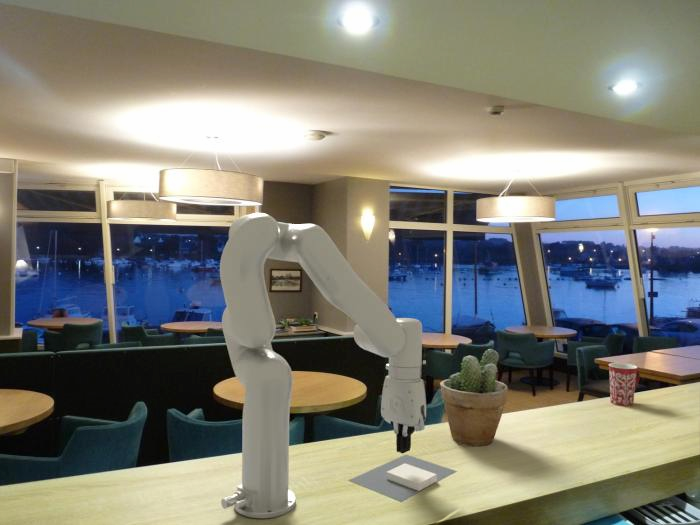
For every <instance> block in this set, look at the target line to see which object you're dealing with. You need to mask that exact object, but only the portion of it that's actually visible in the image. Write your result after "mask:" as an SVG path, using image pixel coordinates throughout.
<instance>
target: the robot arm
mask: <svg viewBox="0 0 700 525" xmlns="http://www.w3.org/2000/svg"><path fill="white" fill-rule="evenodd" d="M267 259H270V260H277V261H284V262H291V263H292V262H293V263H298V264H299V265H300V266H301V268H302V269H303V271H305V273H306V274H307V276H308V277H309V278H310V280H311V281H312V282H313V285H315V287H316V288H317V290H319V292H320V294H321V295H322V296H323V298H324V299H325V300H326V301H327V302H329V303H330V304H331V305H332V306H334V307H335V308H336V309H338V310H340V312H342V313H344V314H345V315H347V316H348V317H349V318H350V319H351V320H352V321H353V322H355V323H356V324H355V326H354V328H353V329H354V330H353V338H354V342H355V343H356V345H358V347H359V348H361V349H363V350H364V351H368V352H370V353H372V354H375V355H378V356H380V357H382V358H388V363H386V365H385V369H386V370H388V374H387V375H386V376H385V378H384V381H383V387H382V393H381V402H380V403H381V404H380V413H381V414H380V415H381V418H383V419H384V421H385V422H387V423H388V424H390V425H391V426H392V428H393V432H394V434H395V436H396V442H395V443H396V444H395V445H396V453H400V454H405V453H408V452H409V451H410V450H411V447H412V435H413V434H414V432H422V431H423V430H425V423H424V422H426V419H427V398H426V397H427V396H426V388H425V382H424V379H422V366H423V365H422V364H423V363H422V362H423V361H422V358H423V356H422V355H423V352H422V351H423V347H422V346H423V325H422V322H421V321H420V320H419V319H417V318H409V317H397V318H396V317H395V315H394V314H393V312H392V311H391V309H390V308H389V307H388V306H387V305H386V303H385V302H384V301H383V300H382V299H381V297H379V295H377V294H376V293H375V292H374V291H373V290H372V289H371V288H370V287H369V286H368V284H366V283H365V281H363V280H362V279H361V278H360V277H359V276H358V274H356V272H355V270H353V268H352V266H350V264H349V262H348V261H347V260H346V258H345V257H344V255H343V254H342V253H341V251H340V250H339V249H338V247H337V245H336V243H334V241H333V240H332V238H331V237H330V236H329V234H328V233H327V232H326V231H325V229H324V228H323V227H321V226H320V225H318V224H315V223H301V224H294V223H293V224H292V223H286V222H280V221H277V220H276V219H275V218H274V217H273V216H271V215H269V214H267V213H264V212H254V213H249V214H245V215H242V216H239V217H238V218H236V219H234V221H233V222H232V223H231V225H230V226H229V230H228V240H227V241H226V243H225V246H224V248H223V250H222V254H221V257H220V263H219V276H220V284H221V287H222V291H223V292H222V293H223V296H224V301H225V305H226V307H225V308H224V310H223V314H222V317H221V328H222V332H223V335H224V336H223V337H224V339H225V343H226V347H227V351H228V355H229V360H230V362H231V367H232V369H233V372H234V375H235V377H236V379H237V381H238V382H239V383H240V385H242V386H243V387H244V400H243V409H242V421H241V422H242V426H241V427H242V429H241V430H242V434H241V435H242V437H241V438H242V439H241V440H242V443H241V444H242V449H241V450H242V451H241V453H242V454H241V458H242V460H241V462H242V463H241V484H239V485H237V487H236V489H237V491H235V492H234V493H233V495H228V496H227V497H223V498H222V499H221V501H220V502H221V504H220V505H221V507H222V508H223V509H228V508H230V507H234V510H235V511H236V512H237V513H238V514H240V515H242V516H244V517H247V518H251V519H252V518H253V519H269V518H270V519H271V518H276V517H280V516H283V515H285V514H287V513H289V512H290V511H292V510H293V508H294V507H295V506H296V498H297V497H296V495H295V493H294V492H293V491H292V490H290V489H289V480H290V478H289V476H290V475H289V473H290V472H289V469H290V467H289V464H290V461H289V460H290V408H291V399H292V398H291V397H292V392H293V385H294V377H293V371H292V368H291V366H290V365H289V363H288V362H287V360H286V359H285V358H284V357H283V356H282V355H280V354H279V353H277V352H275V351H274V350H273V346H272V340H273V339H274V337H275V335H276V330H277V326H276V325H277V324H276V319H275V315H274V312H273V308H272V305H271V301H270V297H269V294H268V290H267V285H266V280H265V273H264V268H265V263H266V260H267Z"/></svg>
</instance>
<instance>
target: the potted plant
mask: <svg viewBox="0 0 700 525" xmlns="http://www.w3.org/2000/svg"><path fill="white" fill-rule="evenodd" d="M482 354H483V355H482V356H481V360H480V361H479V359H478V358H477V357H476V356H474V355H467V356H463V357H462V362H461V363H460V364H461V366H460V368H461V369H460V372H456V373H454V374H451V375H450V376H449V378H448V379H444V380H442V381H441V382H439V386H440V392H441V399H442V401H443V403H444V404H443V405H444V408H445V414H446V418H447V422H448V427H449V430H450V435H451V436H450V437H451V438H452V440H453V441H454V442H455V443H458V444H459V445H464V446H470V447H487V446H490V445H491V444H492V443H493V441H494V438H495V437H496V433H497V430H498V427H499V424H500V422H501V417H502V415H503V412H504V407H505V404H506V403H507V398H508V397H507V396H508V389H509V388H508V386H507V384H505V383H504V382H501V381H498V380H496V377H497V373H498V367H497V366H498V364H499V363H498V361H499V360H500V359H499V358H500V356H499V352H497V351H496V350H494V349H492V348H488V349H486V350H485V351H484V353H482Z"/></svg>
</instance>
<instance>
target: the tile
mask: <svg viewBox="0 0 700 525" xmlns="http://www.w3.org/2000/svg"><path fill="white" fill-rule="evenodd" d="M386 479H388V480H391V481H394V482H396V483H399V484H401V485H404V486H407V487H409V488H412V489H415V490H417V491H420V490H422V489H423V488H425V487H427V486H429V485H431V484H433V483H434V482H436V481H437V474H434V473H432V472H429V471H426V470H423V469H420V468H417V467H414V466H411V465H408V464H405V463H404V464H402V465H400V466H398V467H396V468H394V469H392V470H390V471H387V476H386ZM436 483H437V482H436ZM433 485H434V484H433ZM431 486H432V485H431ZM429 487H430V486H429ZM427 488H428V487H427ZM422 491H423V490H422ZM420 492H421V491H420Z"/></svg>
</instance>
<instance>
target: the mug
mask: <svg viewBox="0 0 700 525" xmlns="http://www.w3.org/2000/svg"><path fill="white" fill-rule="evenodd" d="M608 370H609V372H608V373H609V375H608V376H609V394H610V395H609V396H610V397H609V399H610V403H611V404H613V405H616V406H621V407H632V406H634V400H635V391H636V389H637V387H638V385H639V382H640V371H639V369H638V366H637V365H634V364H630V363H624V362H612V363H611V362H610V363H608Z"/></svg>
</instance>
